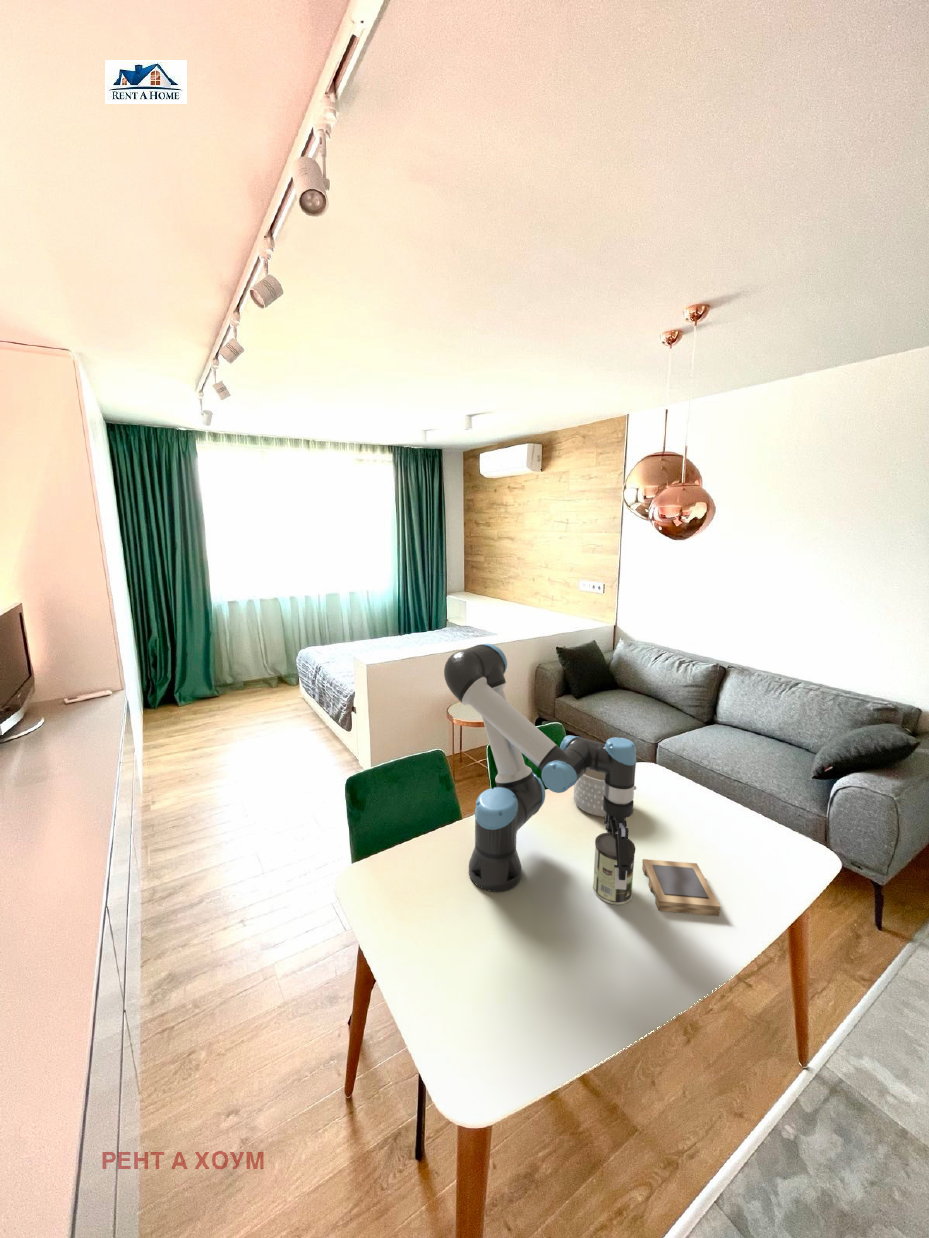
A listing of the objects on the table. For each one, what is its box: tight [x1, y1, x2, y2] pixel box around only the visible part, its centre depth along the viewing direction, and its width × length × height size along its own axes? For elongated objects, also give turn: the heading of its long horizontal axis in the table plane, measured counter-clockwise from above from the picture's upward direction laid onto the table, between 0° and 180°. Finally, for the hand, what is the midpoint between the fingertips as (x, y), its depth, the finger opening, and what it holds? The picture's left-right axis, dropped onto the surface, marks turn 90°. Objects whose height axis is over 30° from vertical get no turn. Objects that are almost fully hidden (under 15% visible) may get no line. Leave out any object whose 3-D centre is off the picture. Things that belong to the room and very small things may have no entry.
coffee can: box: [592, 832, 636, 906], centre depth 126 cm, size 10×10×14 cm
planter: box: [573, 769, 606, 818], centre depth 167 cm, size 19×19×14 cm
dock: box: [641, 858, 722, 917], centre depth 127 cm, size 15×16×3 cm
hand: (614, 869), depth 126 cm, fingers open, 13 cm apart
